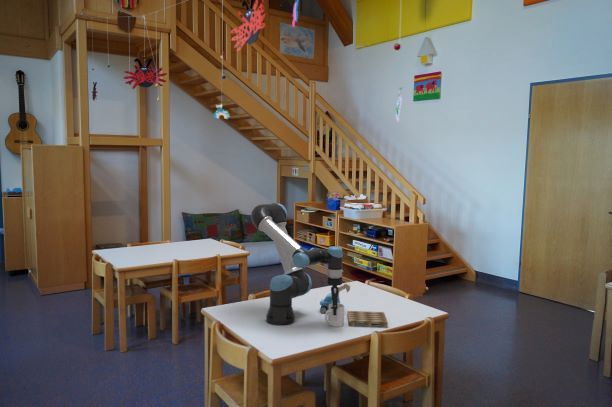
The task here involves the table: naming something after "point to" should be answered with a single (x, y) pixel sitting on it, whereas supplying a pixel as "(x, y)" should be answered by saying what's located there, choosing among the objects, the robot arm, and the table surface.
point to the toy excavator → (328, 298)
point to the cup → (339, 316)
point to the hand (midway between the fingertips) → (334, 316)
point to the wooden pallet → (367, 318)
